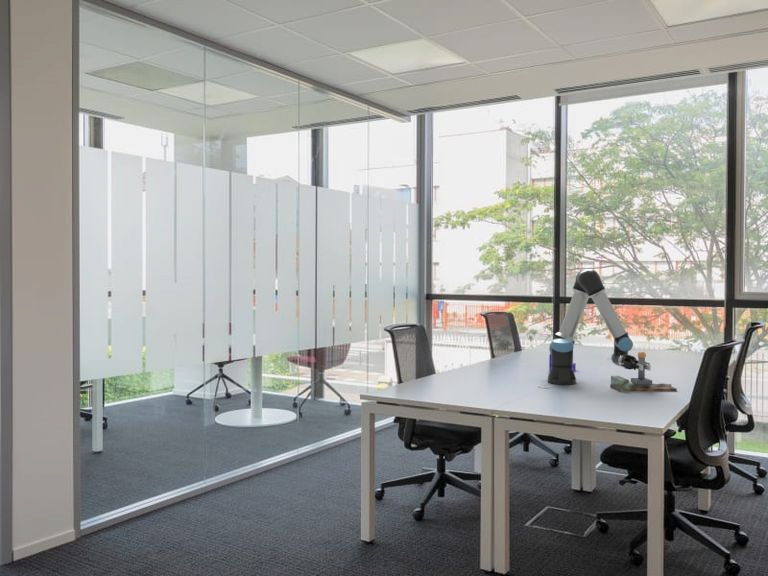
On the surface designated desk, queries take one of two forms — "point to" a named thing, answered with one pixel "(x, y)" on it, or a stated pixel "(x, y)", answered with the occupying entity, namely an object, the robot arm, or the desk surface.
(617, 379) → the track bed
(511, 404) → the desk surface
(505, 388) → the desk surface
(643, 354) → the lever
